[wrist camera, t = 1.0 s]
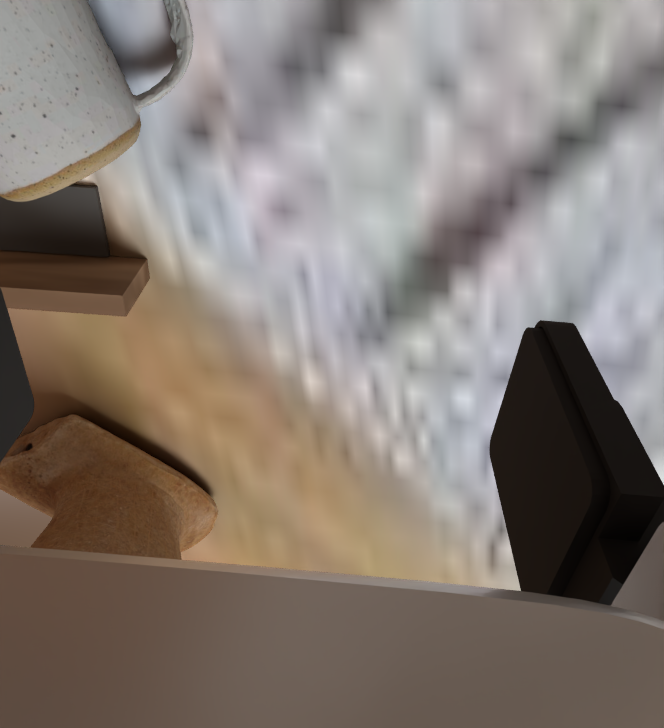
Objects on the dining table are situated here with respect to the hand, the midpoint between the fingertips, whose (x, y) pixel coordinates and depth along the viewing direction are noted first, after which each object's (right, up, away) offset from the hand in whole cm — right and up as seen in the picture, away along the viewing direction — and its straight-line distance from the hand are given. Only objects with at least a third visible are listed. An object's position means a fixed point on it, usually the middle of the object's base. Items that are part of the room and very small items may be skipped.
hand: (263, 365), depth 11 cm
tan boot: (-13, -7, +32) cm, 35 cm away
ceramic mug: (-10, +14, +16) cm, 23 cm away
